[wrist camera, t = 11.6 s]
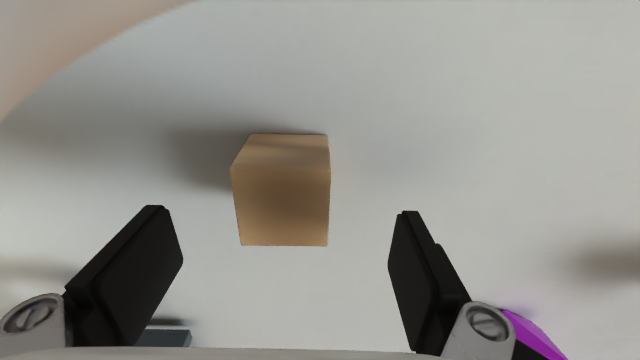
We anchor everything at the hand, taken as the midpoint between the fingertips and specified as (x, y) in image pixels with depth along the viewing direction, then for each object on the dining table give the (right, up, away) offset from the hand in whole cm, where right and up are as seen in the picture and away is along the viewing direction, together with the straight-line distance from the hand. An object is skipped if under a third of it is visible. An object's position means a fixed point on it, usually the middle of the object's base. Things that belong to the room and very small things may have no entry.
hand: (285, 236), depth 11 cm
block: (0, +3, +5) cm, 6 cm away
